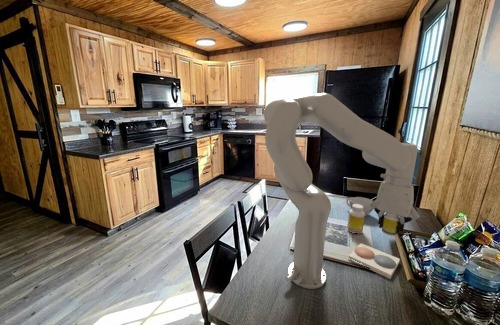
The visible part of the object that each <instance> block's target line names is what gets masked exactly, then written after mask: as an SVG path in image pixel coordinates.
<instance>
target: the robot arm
mask: <svg viewBox="0 0 500 325" xmlns="http://www.w3.org/2000/svg"><path fill="white" fill-rule="evenodd" d="M263 118H264V121H265V123H266V124H267V125H266V130H265V138H264V141H265V142H264V143H265V148H266V151H267V153H268V155H269V157H270V158H271V161H272V162H273V172H274V175H275V177H276V179H277V181H278V182H279V184H280V186H281V187H282V189H283V192H284V193H285V194H286V196H287V198H288V199H289V200H290V202H291V203H292V204H293V205H294V206H295V207H296V209H297V211H298V217H297V219H296V222H295V226H294V245H293V247H294V248H293V259H292V260H293V262H291V263H290V265H289V267H288V270H287V272H288V273H287V274H288V275H287V276H285V282H287V283H288V284H291V282H293V283H294V284H295V285H296V286H298V287H300V288H303V289H308V290H316V289H319V288H322V287H323V286H324V285H325V283H326V282H327V274H326V271H325V270H324V269H323V265H324V264H323V262H324V254H325V253H324V252H325V242H326V229H327V225H328V220H329V217H330V214H331V210H332V202H331V201H330V198H329V196H328V195H327V194H326V192H324V191H323V190H322V189H320V188H319V187H317V186H316V185H315V184H313V172H312V169H311V168H310V166H309V164H308V163H307V160H306V158H305V157H304V155H303V154H302V151H301V150H300V148H299V146H298V145H299V144H298V142H297V140H296V134H297V130H298V127H299V125H301V124H305V123H309V122H310V123H315V124H317V125H319V127H321V129H323V130H325V131H326V132H328V133H329V134H331V135H332V136H333V137H334V138H336V140H338V141H340V142H341V143H344V144H345V145H347V146H349V147H352V148H353V149H354V148H355V149H357V150H360V151H362V153H361V155H362V158H363V159H364V160H363V161H365V162H366V163H368V164H370V165H373V166H376V167H380V168H383V169H385V173H381V174H380V178H382V179H383V181H381V182H380V185H379V188H378V192H377V194H376V195H377V196H376V199H375V200H372V201H373V202H372V203H371V204H370V206H371V207H372V208H373V210H374V212H375V213H376V214H377V217H378V222H377V224H378V228H379V229H382V226H383V220H384V215H385V214H386V212H388V213H391V214H395V215H398V216H399V217H400V222H399V223H398V228H397V235H400V234H401V233H403V232H404V230H405V229H404V228H405V224H406V223H410V222H411V221H414V220H418V219H419V218H420V215H419V214H418V212H417V210H416V209H415V208H414V198H415V197H414V196H415V194H414V190H415V189H414V186H413V184H412V183H413V179H414V174H415V173H414V172H415V168H416V161H417V156H418V152H419V151H418V146H417V145H416V144H413V143H406V142H401V141H400V140H398V139H397V138H396V137H394V136H393V135H392V134H390V133H388V132H386V131H385V130H382V129H381V128H378V127H377V126H375V125H374V124H372V123H369V122H368V121H366V120H364V119H362V118H361V117H359V116H358V115H357V114H356V113H354V111H352V110H351V109H350V108H348V107H347V106H346V105H345V104H343V103H342V102H341V101H340V100H338V99H337V98H336V97H335V96H334V95H332V94H331V93H326V92H321V93H320V92H319V93H314V94H308V95H303V96H299V97H293V98H284V99H278V100H273V101H271V102H269V103H268V104H267V105H266V106H265V108H264V111H263Z"/></svg>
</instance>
